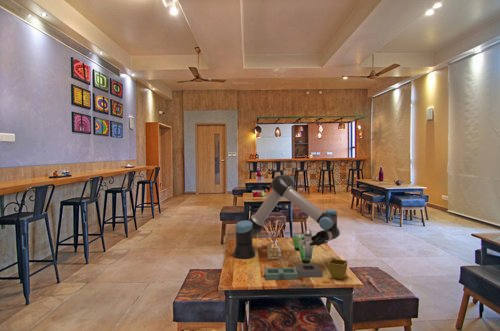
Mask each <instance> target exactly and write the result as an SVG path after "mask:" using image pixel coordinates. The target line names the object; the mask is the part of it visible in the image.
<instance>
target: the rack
mask: <svg viewBox="0 0 500 331" xmlns="http://www.w3.org/2000/svg"><path fill="white" fill-rule="evenodd" d="M264 277H265V280H266V281H273V280H274V281H277V280H283V281H284V280H298V279H299V275H298V272H297V270H296V266H294V267H291V266H290V267H265V268H264Z"/></svg>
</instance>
